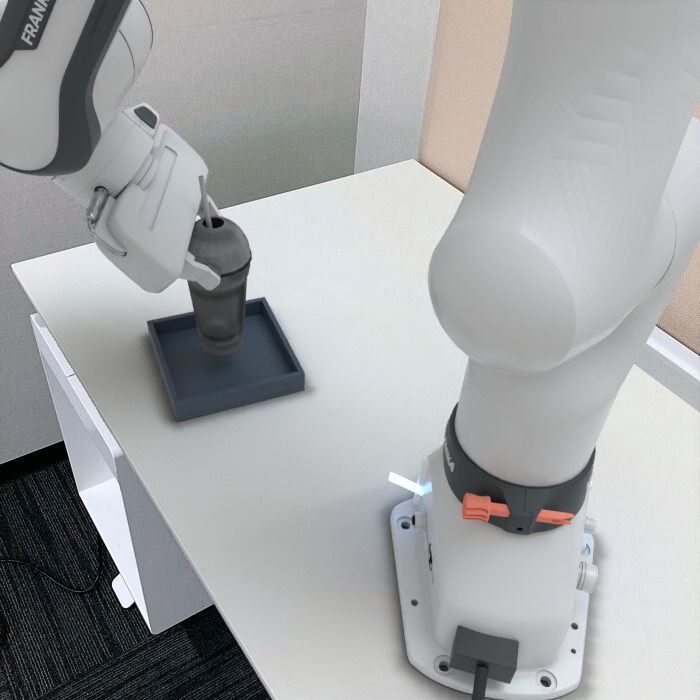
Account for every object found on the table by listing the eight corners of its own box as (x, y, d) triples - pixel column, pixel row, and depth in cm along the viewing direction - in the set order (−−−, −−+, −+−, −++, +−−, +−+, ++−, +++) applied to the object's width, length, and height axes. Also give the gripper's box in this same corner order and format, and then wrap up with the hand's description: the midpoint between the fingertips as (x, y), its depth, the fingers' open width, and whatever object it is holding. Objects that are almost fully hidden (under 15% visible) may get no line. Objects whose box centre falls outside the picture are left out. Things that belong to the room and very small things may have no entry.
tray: (304, 390, 82) (305, 373, 80) (176, 422, 77) (174, 405, 75) (265, 313, 91) (264, 296, 89) (149, 337, 87) (146, 320, 85)
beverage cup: (222, 373, 78) (209, 210, 65) (174, 343, 81) (153, 181, 68) (268, 339, 83) (265, 179, 69) (221, 311, 86) (210, 154, 72)
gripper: (101, 203, 58) (232, 304, 65) (150, 95, 73) (252, 187, 80) (55, 247, 61) (185, 340, 68) (112, 135, 76) (213, 220, 83)
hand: (222, 256), depth 74 cm, fingers closed on beverage cup, 7 cm apart
